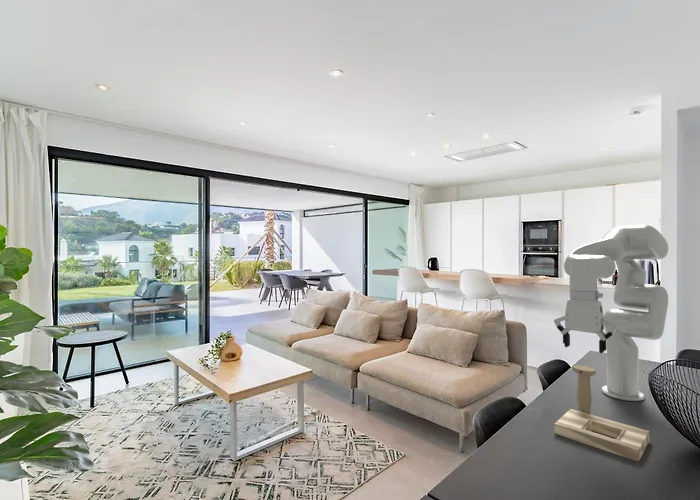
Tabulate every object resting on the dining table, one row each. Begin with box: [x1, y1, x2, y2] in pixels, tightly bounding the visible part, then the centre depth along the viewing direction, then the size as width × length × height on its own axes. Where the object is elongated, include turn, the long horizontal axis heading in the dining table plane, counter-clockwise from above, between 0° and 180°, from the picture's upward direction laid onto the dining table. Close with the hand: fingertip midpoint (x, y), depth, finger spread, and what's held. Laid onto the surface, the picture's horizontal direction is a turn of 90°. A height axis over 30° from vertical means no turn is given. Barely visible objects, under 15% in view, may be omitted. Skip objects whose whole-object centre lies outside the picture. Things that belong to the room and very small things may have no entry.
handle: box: [572, 364, 597, 415], centre depth 123 cm, size 5×6×15 cm
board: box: [554, 408, 650, 462], centre depth 108 cm, size 14×20×3 cm
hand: (584, 349), depth 119 cm, fingers open, 9 cm apart
